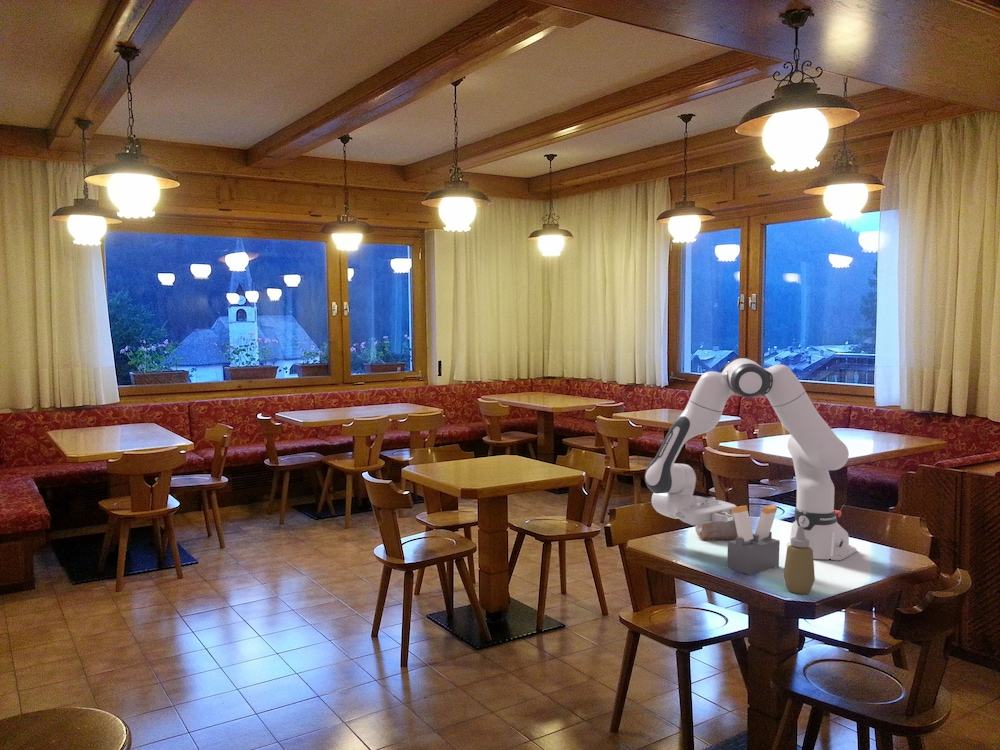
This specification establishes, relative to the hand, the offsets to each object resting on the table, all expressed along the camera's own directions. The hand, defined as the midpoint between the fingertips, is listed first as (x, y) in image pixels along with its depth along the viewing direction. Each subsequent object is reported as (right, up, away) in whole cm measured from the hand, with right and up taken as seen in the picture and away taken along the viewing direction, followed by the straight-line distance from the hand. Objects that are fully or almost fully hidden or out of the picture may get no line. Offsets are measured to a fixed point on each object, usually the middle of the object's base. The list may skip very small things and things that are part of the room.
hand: (730, 518), depth 232 cm
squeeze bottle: (+12, -16, -22) cm, 30 cm away
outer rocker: (+3, -5, -5) cm, 8 cm away
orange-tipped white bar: (+9, -5, -1) cm, 11 cm away
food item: (+4, -12, +29) cm, 32 cm away
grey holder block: (+6, -14, -2) cm, 16 cm away
